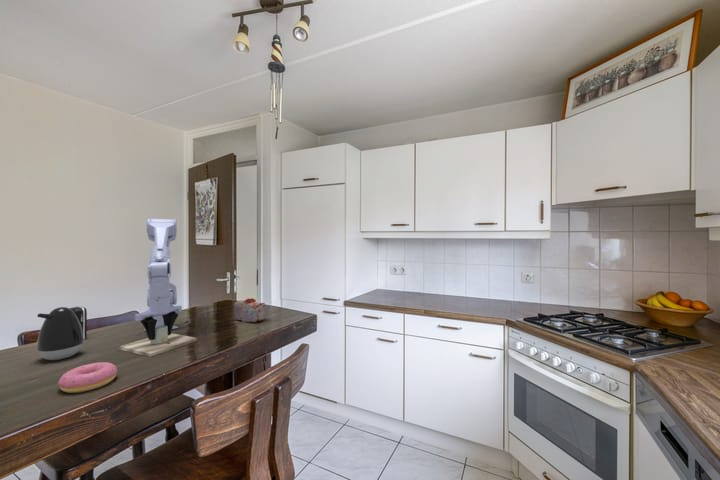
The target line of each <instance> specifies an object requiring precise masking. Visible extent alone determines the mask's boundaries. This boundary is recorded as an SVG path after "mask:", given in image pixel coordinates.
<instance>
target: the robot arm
mask: <svg viewBox="0 0 720 480" xmlns="http://www.w3.org/2000/svg"><path fill="white" fill-rule="evenodd" d="M146 233H147V237H148V239H149V240H150V241H152V242H154V246H153V247H152V248H151V249H150V255H149V258H150V259H149V263H148V264H147V269H146V270H147V272H146V273H147V279H148V285H149V286H148V288H147V294H146V303H147V304H146V306H147V307H148V310H146V311H144V312H140V313H135V314H134V321H137V322H140V324H142V325H143V327H144V328H143V331H144V332H145V331H146V335H147V338H149V339H150V340H154V339H155V327H156V326H157V325H168V335H170V334H171V333H172V330H175V329H178V328H179V326H177V325H174V324H175V322H176V321H177V319H178V317H179V313H180V312H182V310H183V309H182V306H183V305H176V304H177V303H178V302H177V299H178V293H177V292H178V291H177V286H176V285H175V284H174V283H172V282H171V281H170V277H172V263H171V258H170V257H171V250H170V244H171V242H174V241H175V240H176V238H177V220H176V219H175V218H172V219H171V218H166V219H165V218H150V217H149V218H148V219H146Z"/></svg>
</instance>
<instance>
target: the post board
mask: <svg viewBox="0 0 720 480" xmlns="http://www.w3.org/2000/svg"><path fill="white" fill-rule="evenodd" d="M195 342H198V337H194V336H188V335H183V334H178V333H172V332H171V334H170V335H168V341H166V342H164V343H159V344H151V340H150V339H149V338H148V337H146V338H144V339H141V340H136V341H133V342H130V343H126V344H122V345H119V346H118V350H120V351H125V352H128V353H133V354H137V355H141V356H144V357H149V358H151V357H153V356H156V355H160V354H163V353H166V352H168V351H172V350H175V349H177V348H181V347H184V346H186V345H190V344H192V343H195Z"/></svg>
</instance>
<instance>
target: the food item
mask: <svg viewBox="0 0 720 480" xmlns="http://www.w3.org/2000/svg"><path fill="white" fill-rule="evenodd" d="M265 307H266V302H259V301H257V300H256V298H249V297H248V298H246V299H244V300H238V301H235V302H234V304H233V320H234V321H239V320H241V321H240V322H242V321H245V322H244V323H253V322H255V323H258V322H257V321H259V322H261V321H260V320H262V321H265V309H266V308H265Z"/></svg>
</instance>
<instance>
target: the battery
mask: <svg viewBox="0 0 720 480" xmlns="http://www.w3.org/2000/svg"><path fill="white" fill-rule="evenodd" d="M69 308H70V309H71V310H72V311H73V312H74V313H75V314H76V316H77V318H78V320H79V322H80V324H81V327H82V331H83V337H84V340H85V339H87V338H88V335H87V333H88V332H87V331H88V330H87V328H88V326H87V325H88V315H87V314H88V312H87V308H86V307H84V306H75V307H69Z"/></svg>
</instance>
